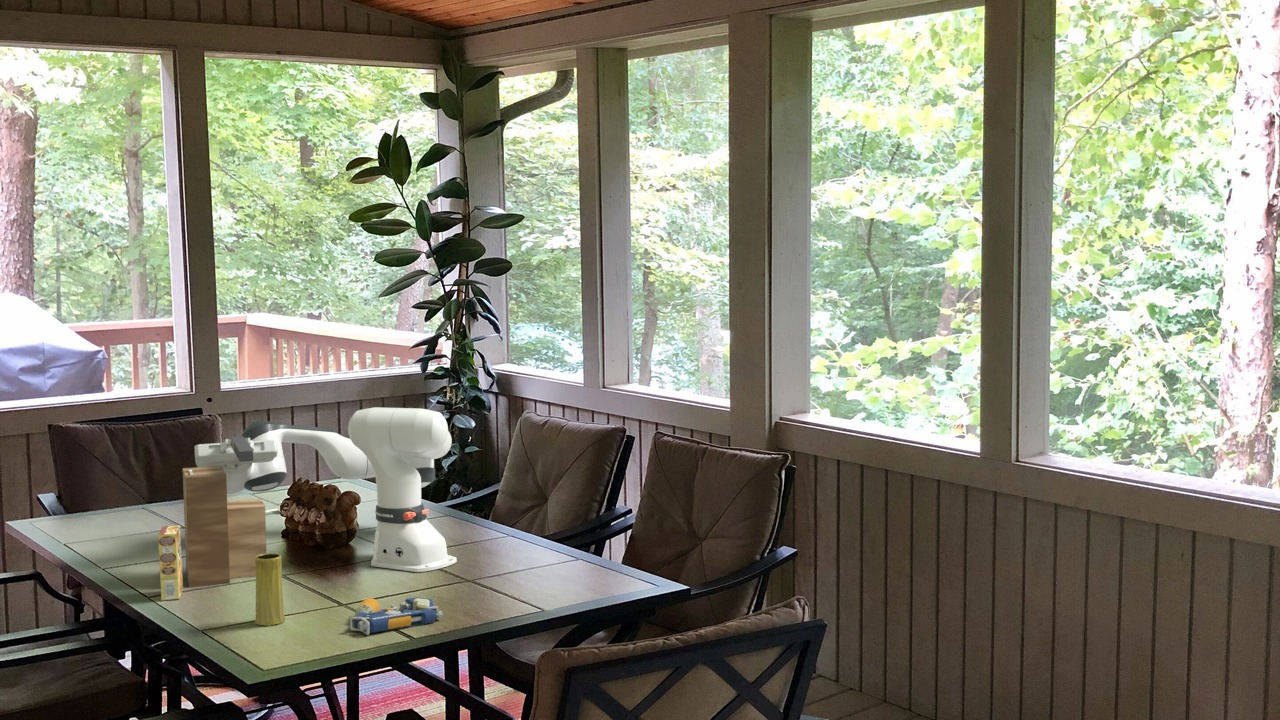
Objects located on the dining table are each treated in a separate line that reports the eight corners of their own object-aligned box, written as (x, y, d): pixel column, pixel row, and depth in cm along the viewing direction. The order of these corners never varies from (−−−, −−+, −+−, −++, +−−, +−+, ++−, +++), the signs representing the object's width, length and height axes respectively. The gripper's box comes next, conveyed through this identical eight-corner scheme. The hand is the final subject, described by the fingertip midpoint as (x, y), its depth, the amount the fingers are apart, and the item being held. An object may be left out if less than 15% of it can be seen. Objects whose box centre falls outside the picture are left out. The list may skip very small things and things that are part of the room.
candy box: (180, 599, 275) (177, 533, 274) (160, 601, 274) (157, 534, 273) (183, 589, 284) (181, 524, 283) (164, 590, 283) (161, 526, 281)
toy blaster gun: (331, 621, 260) (359, 640, 247) (331, 601, 259) (359, 620, 247) (420, 607, 272) (451, 624, 260) (420, 588, 271) (451, 605, 259)
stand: (186, 572, 299) (182, 467, 296) (262, 565, 306) (259, 461, 303) (189, 587, 286) (185, 476, 283) (269, 578, 293) (265, 471, 291)
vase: (288, 617, 262) (286, 552, 260) (280, 626, 256) (278, 559, 254) (259, 617, 261) (257, 552, 260) (251, 626, 255) (249, 559, 254)
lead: (231, 446, 307) (230, 437, 307) (243, 445, 308) (243, 436, 308) (239, 461, 285) (239, 451, 285) (253, 460, 286) (252, 450, 286)
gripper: (277, 469, 320) (282, 450, 308) (194, 475, 311) (196, 455, 300) (275, 447, 322) (279, 427, 310) (193, 452, 314) (194, 431, 302)
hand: (238, 441), depth 305 cm, fingers closed on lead, 3 cm apart
